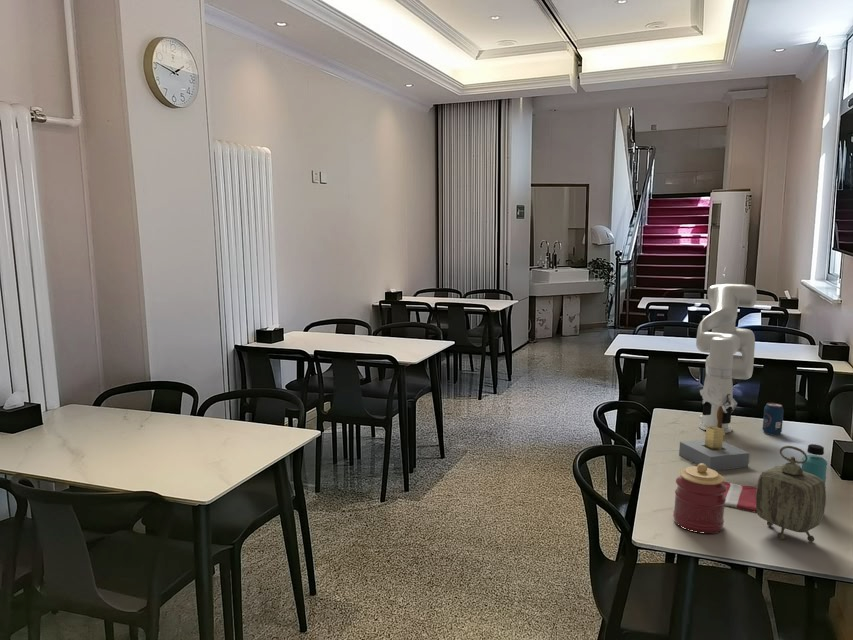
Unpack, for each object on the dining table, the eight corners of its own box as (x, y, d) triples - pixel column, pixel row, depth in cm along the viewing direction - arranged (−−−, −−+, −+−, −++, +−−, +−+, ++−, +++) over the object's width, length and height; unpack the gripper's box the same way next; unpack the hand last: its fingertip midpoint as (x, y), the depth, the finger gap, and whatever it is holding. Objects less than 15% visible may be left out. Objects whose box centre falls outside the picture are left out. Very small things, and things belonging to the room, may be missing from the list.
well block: (679, 454, 233) (680, 441, 232) (715, 451, 237) (716, 438, 237) (709, 470, 218) (710, 456, 217) (748, 466, 222) (749, 453, 222)
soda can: (758, 430, 263) (761, 402, 261) (774, 430, 264) (776, 402, 262) (769, 436, 256) (771, 407, 255) (785, 435, 257) (788, 406, 255)
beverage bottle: (822, 518, 183) (830, 451, 180) (796, 512, 186) (802, 446, 184) (823, 509, 188) (830, 444, 186) (797, 504, 192) (803, 440, 189)
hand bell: (734, 447, 243) (737, 406, 240) (721, 451, 238) (725, 409, 236) (713, 441, 249) (716, 401, 247) (701, 444, 245) (704, 404, 242)
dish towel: (690, 480, 211) (691, 472, 210) (771, 496, 199) (772, 488, 198) (682, 498, 196) (682, 490, 196) (768, 517, 184) (768, 508, 184)
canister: (729, 537, 171) (734, 474, 168) (678, 532, 173) (682, 470, 170) (716, 516, 183) (721, 457, 181) (668, 512, 186) (672, 453, 183)
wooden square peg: (703, 459, 229) (706, 426, 228) (713, 458, 230) (715, 426, 229) (711, 463, 225) (714, 430, 224) (720, 462, 227) (723, 429, 225)
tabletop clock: (821, 542, 168) (831, 451, 165) (805, 552, 163) (814, 458, 160) (766, 522, 180) (774, 436, 176) (749, 530, 175) (757, 442, 171)
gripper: (694, 367, 230) (690, 412, 233) (728, 378, 214) (724, 427, 217) (711, 365, 232) (708, 411, 235) (747, 377, 216) (743, 425, 219)
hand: (716, 419), depth 226 cm, fingers open, 9 cm apart
